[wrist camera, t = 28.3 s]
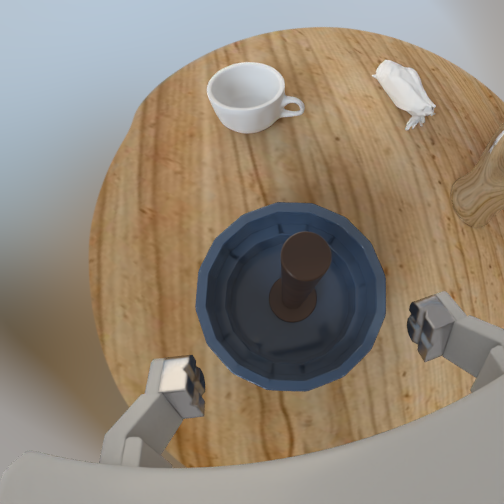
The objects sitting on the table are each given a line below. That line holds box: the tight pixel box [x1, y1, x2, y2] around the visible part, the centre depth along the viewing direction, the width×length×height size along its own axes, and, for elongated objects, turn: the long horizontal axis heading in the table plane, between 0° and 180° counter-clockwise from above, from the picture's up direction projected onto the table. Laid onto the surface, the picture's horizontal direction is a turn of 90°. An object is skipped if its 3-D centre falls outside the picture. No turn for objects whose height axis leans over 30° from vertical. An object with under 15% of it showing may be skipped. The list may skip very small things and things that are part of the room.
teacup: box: [207, 62, 305, 133], centre depth 29 cm, size 10×8×5 cm
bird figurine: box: [372, 60, 436, 130], centre depth 28 cm, size 5×7×10 cm
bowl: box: [196, 202, 386, 391], centre depth 23 cm, size 14×14×6 cm
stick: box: [269, 231, 331, 323], centre depth 18 cm, size 4×4×16 cm
